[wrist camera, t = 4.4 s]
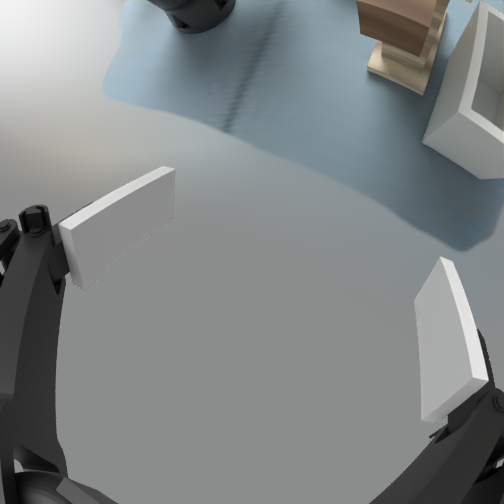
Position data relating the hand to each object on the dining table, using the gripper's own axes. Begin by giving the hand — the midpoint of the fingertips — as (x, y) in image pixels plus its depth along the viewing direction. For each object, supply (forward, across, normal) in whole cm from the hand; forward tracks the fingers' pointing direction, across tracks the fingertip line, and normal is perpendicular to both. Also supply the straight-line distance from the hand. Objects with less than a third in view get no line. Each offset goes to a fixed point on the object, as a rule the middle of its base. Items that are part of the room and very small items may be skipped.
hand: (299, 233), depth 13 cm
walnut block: (+12, -4, -24) cm, 27 cm away
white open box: (+38, -20, -11) cm, 44 cm away
